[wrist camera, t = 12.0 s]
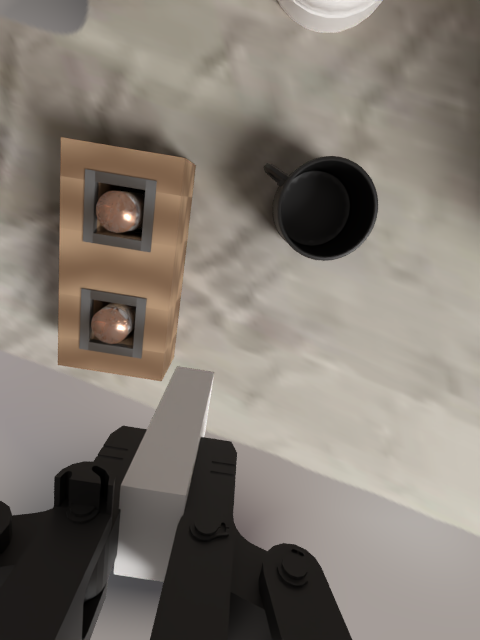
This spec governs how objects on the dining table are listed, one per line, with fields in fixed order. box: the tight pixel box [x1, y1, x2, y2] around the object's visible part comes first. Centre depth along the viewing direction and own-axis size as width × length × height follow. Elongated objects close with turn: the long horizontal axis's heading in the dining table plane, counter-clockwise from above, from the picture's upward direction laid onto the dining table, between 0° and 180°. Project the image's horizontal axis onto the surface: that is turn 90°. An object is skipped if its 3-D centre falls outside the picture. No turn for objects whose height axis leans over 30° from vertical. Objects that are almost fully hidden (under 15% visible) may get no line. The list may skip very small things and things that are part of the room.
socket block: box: [58, 137, 196, 381], centre depth 43 cm, size 24×12×7 cm, turn 171°
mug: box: [264, 156, 378, 261], centre depth 39 cm, size 9×12×9 cm
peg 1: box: [96, 191, 145, 233], centre depth 40 cm, size 4×4×7 cm
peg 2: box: [91, 302, 136, 344], centre depth 44 cm, size 4×4×7 cm
